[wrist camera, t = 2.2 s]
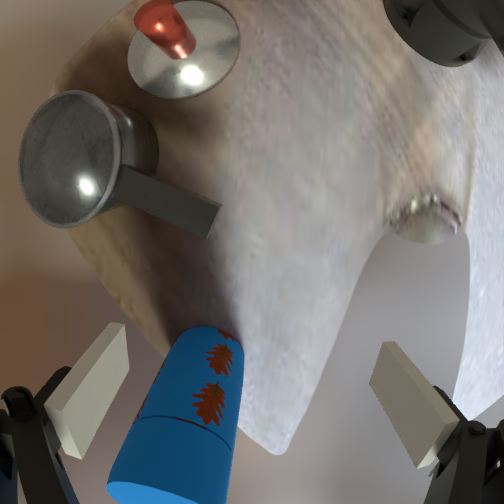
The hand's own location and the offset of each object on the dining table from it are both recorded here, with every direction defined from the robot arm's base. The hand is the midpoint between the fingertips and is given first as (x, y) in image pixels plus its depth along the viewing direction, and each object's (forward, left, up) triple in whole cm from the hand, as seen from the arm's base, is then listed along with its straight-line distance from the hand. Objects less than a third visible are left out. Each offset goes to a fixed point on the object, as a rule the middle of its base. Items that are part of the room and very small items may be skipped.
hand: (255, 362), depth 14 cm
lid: (-18, -19, -23) cm, 35 cm away
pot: (-2, -17, -23) cm, 29 cm away
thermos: (+19, 0, -23) cm, 30 cm away
